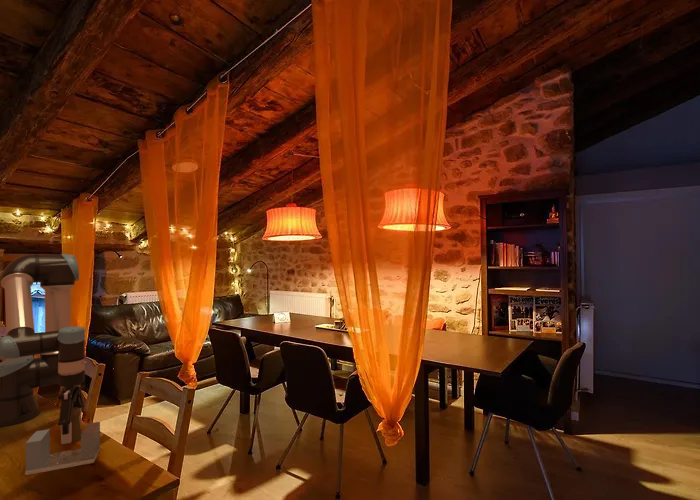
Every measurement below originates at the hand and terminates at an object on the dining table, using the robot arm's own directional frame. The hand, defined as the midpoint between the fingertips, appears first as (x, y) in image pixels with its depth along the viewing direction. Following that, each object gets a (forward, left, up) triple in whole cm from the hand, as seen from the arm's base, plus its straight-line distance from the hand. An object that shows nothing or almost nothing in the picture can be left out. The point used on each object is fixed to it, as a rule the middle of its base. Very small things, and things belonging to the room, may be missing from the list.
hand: (71, 434), depth 132 cm
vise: (+15, +2, -2) cm, 16 cm away
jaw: (+15, -5, -1) cm, 16 cm away
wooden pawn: (0, 0, -2) cm, 2 cm away
